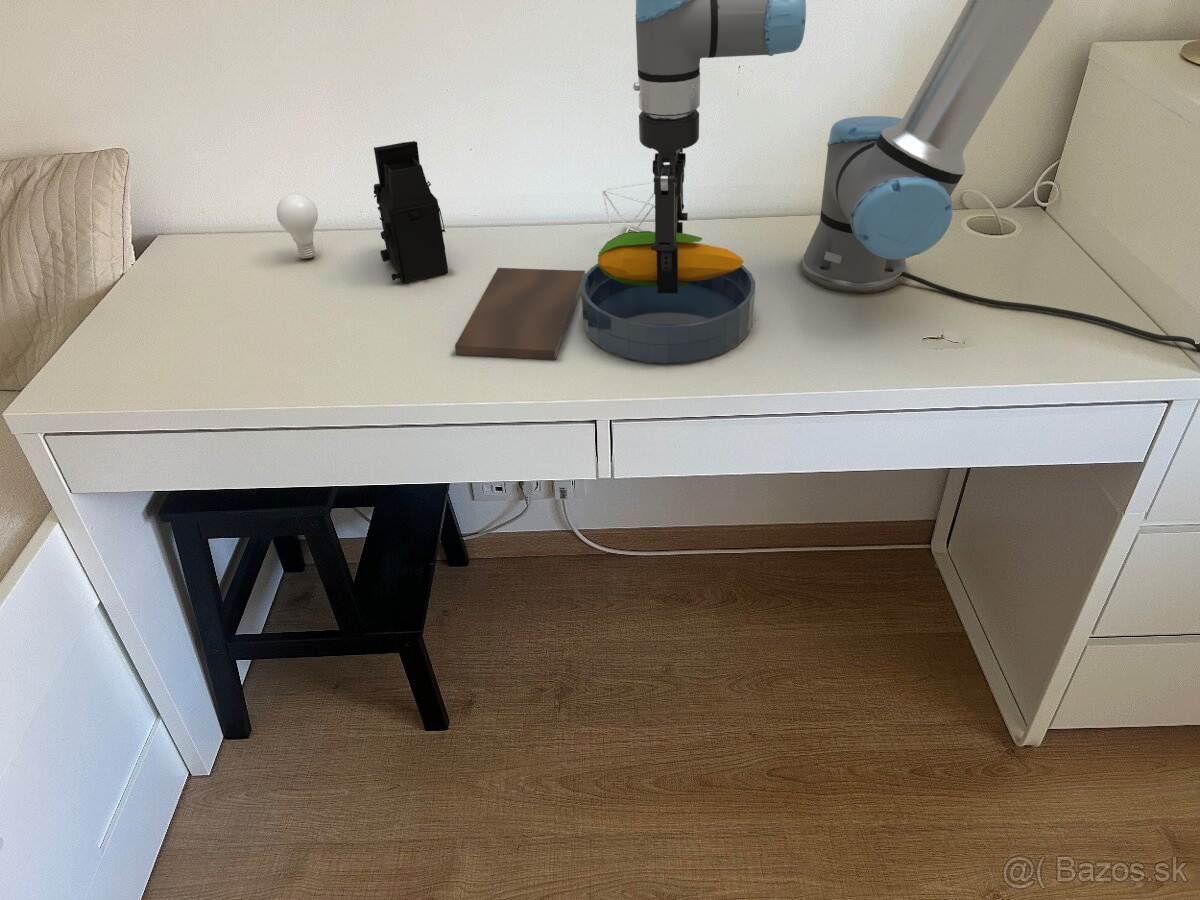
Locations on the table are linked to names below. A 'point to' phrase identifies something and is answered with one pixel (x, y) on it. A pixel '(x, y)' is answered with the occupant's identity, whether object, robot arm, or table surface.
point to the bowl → (668, 316)
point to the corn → (638, 263)
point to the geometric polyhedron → (628, 198)
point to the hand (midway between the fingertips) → (670, 278)
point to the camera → (408, 214)
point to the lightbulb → (299, 221)
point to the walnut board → (522, 314)
